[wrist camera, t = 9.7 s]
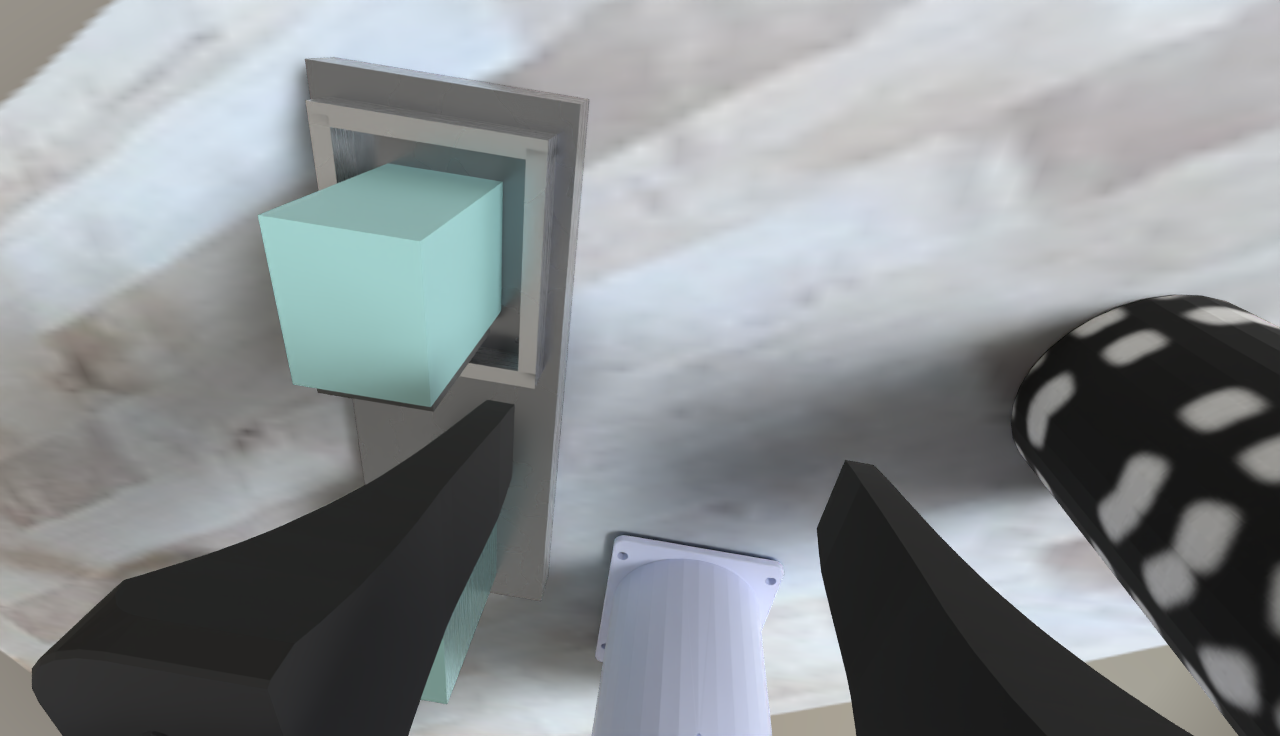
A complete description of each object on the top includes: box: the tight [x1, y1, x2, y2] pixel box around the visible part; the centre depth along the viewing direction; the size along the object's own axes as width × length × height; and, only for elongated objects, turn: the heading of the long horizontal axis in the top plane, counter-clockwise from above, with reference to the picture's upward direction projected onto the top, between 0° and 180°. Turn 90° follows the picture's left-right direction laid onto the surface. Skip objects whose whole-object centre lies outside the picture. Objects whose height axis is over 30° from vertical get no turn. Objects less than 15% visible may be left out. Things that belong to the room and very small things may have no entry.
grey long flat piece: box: [305, 57, 589, 704], centre depth 20 cm, size 22×8×8 cm, turn 172°
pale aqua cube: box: [258, 163, 503, 412], centre depth 16 cm, size 5×4×6 cm
